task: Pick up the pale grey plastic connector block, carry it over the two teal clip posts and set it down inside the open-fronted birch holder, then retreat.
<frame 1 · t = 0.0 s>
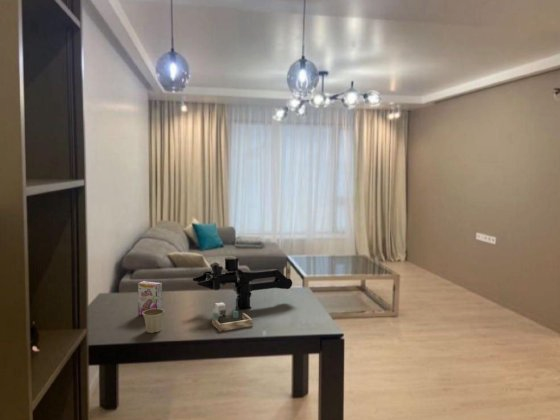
hand: (195, 281, 213), 17 cm above the table, tool horizontal, fingers open, 9 cm apart
flower pot: (153, 331, 193), on the table
candy bar box: (150, 315, 213), on the table
end holder: (232, 324, 200), on the table
clip posts: (225, 318, 208), on the table
connector block: (220, 314, 215), on the table
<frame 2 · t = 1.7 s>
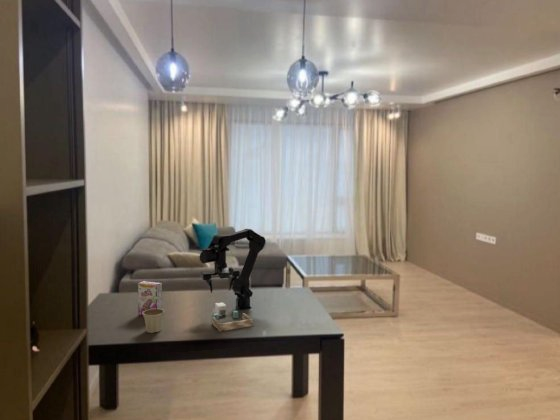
hand: (220, 291, 214), 11 cm above the table, tool pointing down, fingers open, 9 cm apart
nothing on the table moved.
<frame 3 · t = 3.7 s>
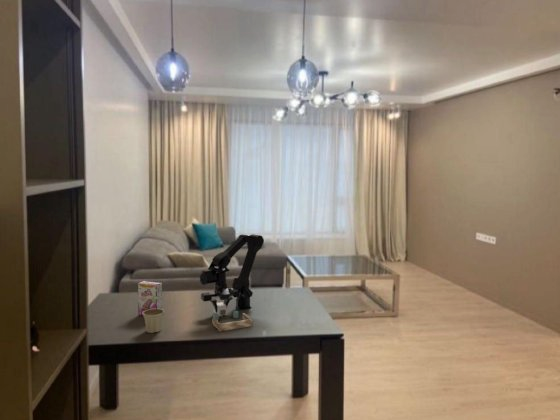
hand: (220, 311, 215), 1 cm above the table, tool pointing down, fingers closed on connector block, 4 cm apart
connector block: (220, 313, 215), on the table, touching gripper
everything else where it was.
when the fingers open (2 cm above the table, at t = 8.2 s): connector block drops 2 cm, on the table.
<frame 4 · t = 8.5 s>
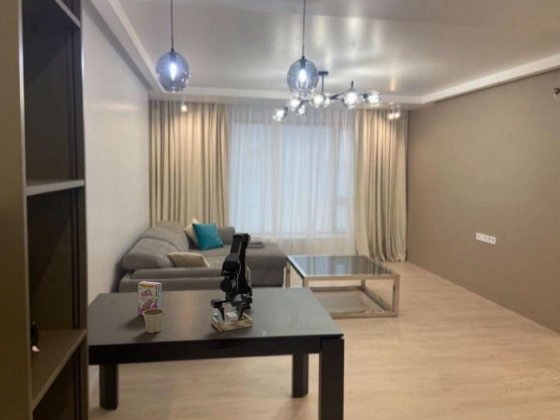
hand: (231, 319, 200), 2 cm above the table, tool pointing down, fingers open, 8 cm apart
connector block: (231, 324, 200), on the table
everything else where it was.
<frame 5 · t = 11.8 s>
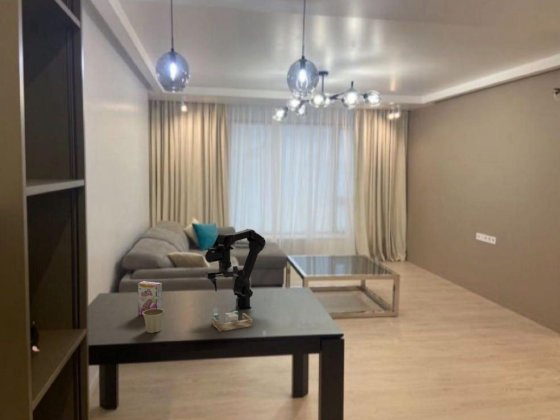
hand: (224, 290, 214), 12 cm above the table, tool pointing down, fingers open, 9 cm apart
nothing on the table moved.
at the end: connector block inside the target area (0.1 cm from its centre), on the table; connector block tilted 0°; the gripper is holding nothing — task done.
